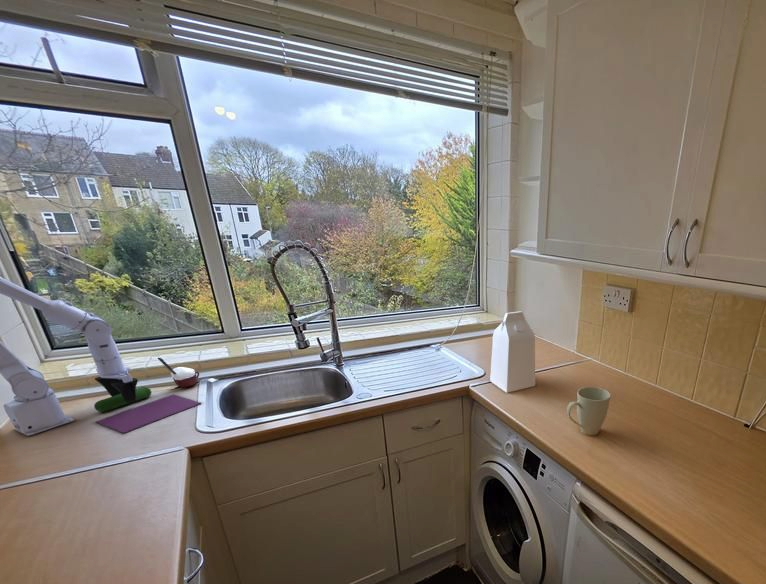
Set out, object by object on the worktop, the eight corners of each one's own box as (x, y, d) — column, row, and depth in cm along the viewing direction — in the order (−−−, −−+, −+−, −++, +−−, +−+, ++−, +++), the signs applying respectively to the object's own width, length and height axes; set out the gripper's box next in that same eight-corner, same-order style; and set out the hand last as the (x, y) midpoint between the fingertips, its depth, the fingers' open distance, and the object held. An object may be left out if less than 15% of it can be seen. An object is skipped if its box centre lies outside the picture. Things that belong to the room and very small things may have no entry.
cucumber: (100, 414, 119) (96, 404, 117) (94, 412, 120) (89, 401, 119) (155, 396, 131) (151, 386, 129) (149, 394, 132) (145, 384, 130)
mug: (576, 419, 122) (580, 383, 117) (609, 428, 118) (614, 390, 113) (563, 436, 113) (567, 398, 108) (598, 446, 109) (603, 406, 104)
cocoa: (200, 379, 143) (190, 347, 138) (204, 384, 139) (194, 352, 134) (166, 387, 137) (154, 353, 132) (170, 393, 133) (158, 358, 128)
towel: (123, 433, 110) (123, 432, 110) (95, 422, 115) (95, 421, 115) (201, 403, 127) (200, 402, 126) (173, 395, 132) (173, 394, 131)
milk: (517, 374, 153) (519, 307, 143) (535, 385, 145) (538, 314, 134) (490, 381, 147) (490, 310, 137) (506, 392, 139) (507, 318, 128)
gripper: (137, 357, 120) (153, 398, 125) (110, 350, 125) (126, 389, 131) (108, 365, 114) (125, 408, 119) (80, 357, 119) (99, 398, 125)
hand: (124, 399), depth 125 cm, fingers open, 7 cm apart
